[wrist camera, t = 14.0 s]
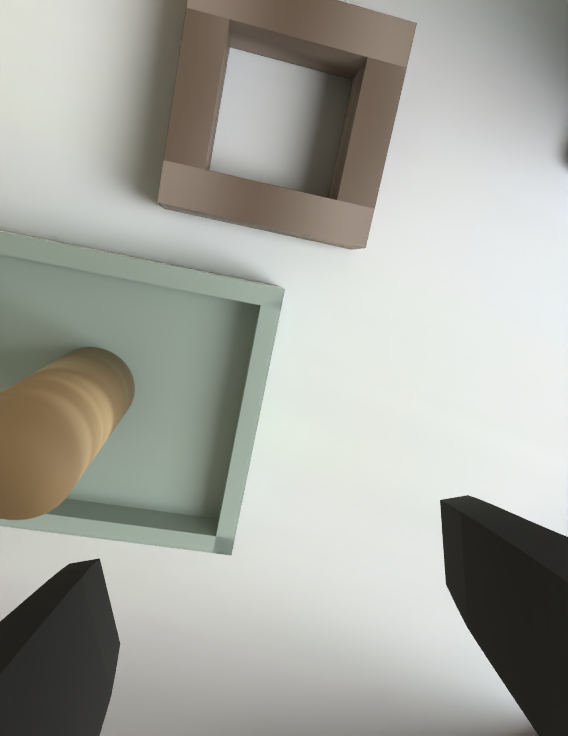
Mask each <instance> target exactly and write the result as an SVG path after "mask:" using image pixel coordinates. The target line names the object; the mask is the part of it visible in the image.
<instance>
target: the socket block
mask: <svg viewBox="0 0 568 736" xmlns="http://www.w3.org/2000/svg"><path fill="white" fill-rule="evenodd" d="M416 24H417V23H414V22H411V21H407V20H404V19H400V18H397V17H393V16H390V15H386V14H383V13H380V12H376V11H373V10H369V9H366V8H362V7H359V6H355V5H352V4H348V3H345V2H341V1H338V0H187V6H186V13H185V19H184V26H183V33H182V39H181V46H180V53H179V59H178V66H177V73H176V80H175V86H174V93H173V100H172V106H171V113H170V120H169V126H168V133H167V140H166V146H165V153H164V160H163V166H162V173H161V180H160V186H159V193H158V200H157V203H159V204H160V205H161V206H162V207H164V208H165V209H169V210H173V211H178V212H182V213H187V214H192V215H196V216H201V217H205V218H210V219H214V220H219V221H224V222H228V223H233V224H237V225H242V226H247V227H251V228H256V229H260V230H265V231H270V232H274V233H279V234H283V235H288V236H293V237H297V238H302V239H306V240H311V241H316V242H320V243H325V244H329V245H334V246H338V247H343V248H348V249H361V248H366V244H367V240H368V235H369V231H370V226H371V222H372V218H373V213H374V209H375V204H376V200H377V196H378V191H379V187H380V182H381V178H382V174H383V169H384V165H385V160H386V156H387V152H388V147H389V143H390V139H391V134H392V130H393V125H394V121H395V117H396V112H397V108H398V103H399V99H400V95H401V90H402V86H403V81H404V77H405V73H406V68H407V64H408V59H409V55H410V51H411V46H412V42H413V37H414V33H415V29H416ZM230 47H232V48H236V49H240V50H244V51H247V52H251V53H255V54H259V55H262V56H266V57H270V58H274V59H277V60H281V61H285V62H289V63H293V64H296V65H300V66H304V67H308V68H311V69H315V70H319V71H323V72H326V73H330V74H334V75H338V76H341V77H345V78H349V79H353V82H352V86H351V91H350V96H349V101H348V105H347V110H346V115H345V120H344V124H343V129H342V134H341V139H340V143H339V148H338V153H337V158H336V162H335V167H334V172H333V177H332V182H331V186H330V191H329V196H328V198H326V197H321V196H317V195H313V194H308V193H304V192H300V191H295V190H291V189H287V188H282V187H278V186H274V185H269V184H265V183H261V182H256V181H252V180H248V179H243V178H239V177H235V176H230V175H226V174H222V173H217V172H213V171H209V168H210V162H211V156H212V150H213V144H214V138H215V132H216V126H217V120H218V114H219V108H220V102H221V96H222V90H223V84H224V78H225V72H226V66H227V60H228V54H229V48H230Z"/></svg>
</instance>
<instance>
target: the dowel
mask: <svg viewBox="0 0 568 736" xmlns="http://www.w3.org/2000/svg"><path fill="white" fill-rule="evenodd" d="M134 393H135V385H134V379H133V376H132V373H131V371H130V369H129V368H128V366H127V365H126V364H125V362H124V361H123V360H122V359H121V358H119V357H118V356H117V355H115V354H114V353H112V352H110V351H108V350H105V349H101V348H96V347H85V348H80V349H77V350H74V351H72V352H70V353H68V354H66V355H64V356H63V357H61V358H59V359H57V360H56V361H54V362H52V363H50V364H49V365H47V366H45V367H44V368H42V369H40V370H38V371H37V372H35V373H33V374H31V375H30V376H28V377H26V378H24V379H23V380H21V381H19V382H17V383H16V384H14V385H12V386H10V387H9V388H7V389H5V390H3V391H2V392H0V519H6V520H26V519H31V518H35V517H38V516H41V515H44V514H46V513H48V512H50V511H51V510H53V509H54V508H56V507H57V506H58V505H60V504H61V503H62V502H63V501H64V500H65V499H66V497H67V496H68V495H69V493H70V492H71V490H72V489H73V488H74V486H75V485H76V483H77V482H78V480H79V479H80V478H81V476H82V475H83V473H84V472H85V470H86V469H87V468H88V466H89V465H90V463H91V462H92V460H93V459H94V458H95V456H96V455H97V453H98V452H99V450H100V449H101V448H102V446H103V445H104V443H105V442H106V440H107V439H108V438H109V436H110V435H111V433H112V432H113V430H114V429H115V428H116V426H117V425H118V423H119V422H120V420H121V419H122V417H123V416H124V415H125V413H126V412H127V410H128V409H129V407H130V406H131V403H132V401H133V398H134Z"/></svg>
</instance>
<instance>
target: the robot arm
mask: <svg viewBox="0 0 568 736" xmlns="http://www.w3.org/2000/svg"><path fill="white" fill-rule="evenodd" d="M440 505H441V519H442V534H443V548H444V562H445V577H446V585H447V587H448V589H449V591H450V593H451V596H452V598H453V600H454V602H455V604H456V606H457V608H458V610H459V612H460V614H461V616H462V618H463V620H464V622H465V624H466V626H467V628H468V629H469V631H470V632H471V634H472V635H473V637H474V639H475V640H476V642H477V643H478V645H479V646H480V648H481V649H482V651H483V652H484V654H485V655H486V657H487V659H488V660H489V662H490V663H491V665H492V666H493V668H494V669H495V671H496V672H497V674H498V675H499V677H500V678H501V680H502V681H503V683H504V684H505V686H506V687H507V689H508V690H509V692H510V693H511V695H512V696H513V698H514V699H515V701H516V702H517V704H518V705H519V707H520V708H521V710H522V711H523V713H524V714H525V716H526V717H527V719H528V720H529V722H530V723H531V725H532V726H533V728H534V729H535V731H536V732H537V734H538V735H539V736H568V537H566V536H564V535H561V534H559V533H557V532H554V531H552V530H549V529H547V528H545V527H542V526H540V525H538V524H535V523H533V522H531V521H528V520H526V519H524V518H522V517H519V516H517V515H515V514H513V513H510V512H508V511H506V510H503V509H501V508H499V507H497V506H494V505H492V504H490V503H487V502H485V501H482V500H480V499H477V498H474V497H471V496H468V495H467V496H461V497H455V498H450V499H444V500H440ZM119 648H120V641H119V637H118V633H117V629H116V625H115V620H114V616H113V612H112V608H111V604H110V600H109V595H108V591H107V587H106V583H105V579H104V575H103V570H102V566H101V562H100V559H94V560H88V561H83V562H77V563H71V564H69V565H67V566H66V567H64V568H63V569H62V570H60V571H59V572H58V573H57V574H55V575H54V576H53V577H52V578H50V579H49V580H48V581H47V582H46V583H45V584H43V585H42V586H41V587H40V588H39V589H38V590H36V591H35V592H34V593H33V594H32V595H31V596H29V597H28V598H27V599H26V600H25V601H24V602H23V603H21V604H20V605H19V606H18V607H17V608H16V609H14V610H13V611H12V612H11V613H10V614H9V615H7V616H6V617H5V618H4V619H3V620H2V621H0V736H99V735H100V732H101V728H102V725H103V722H104V718H105V715H106V712H107V708H108V705H109V701H110V698H111V694H112V688H113V683H114V678H115V672H116V666H117V660H118V654H119Z"/></svg>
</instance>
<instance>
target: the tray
mask: <svg viewBox="0 0 568 736" xmlns="http://www.w3.org/2000/svg"><path fill="white" fill-rule="evenodd" d="M284 291H285V289H283V288H281V287H279V286H274V285H269V284H264V283H259V282H254V281H249V280H244V279H239V278H234V277H229V276H224V275H220V274H215V273H210V272H205V271H200V270H195V269H190V268H185V267H180V266H175V265H170V264H165V263H160V262H156V261H151V260H146V259H141V258H136V257H131V256H126V255H121V254H116V253H111V252H106V251H101V250H96V249H91V248H87V247H82V246H77V245H72V244H67V243H62V242H57V241H52V240H47V239H42V238H37V237H32V236H27V235H23V234H18V233H13V232H8V231H3V230H0V392H2V391H3V390H5V389H7V388H9V387H10V386H12V385H14V384H16V383H17V382H19V381H21V380H23V379H24V378H26V377H28V376H30V375H31V374H33V373H35V372H37V371H38V370H40V369H42V368H44V367H45V366H47V365H49V364H50V363H52V362H54V361H56V360H57V359H59V358H61V357H63V356H64V355H66V354H68V353H70V352H72V351H74V350H77V349H80V348H85V347H96V348H101V349H105V350H108V351H110V352H112V353H114V354H115V355H117V356H118V357H119V358H121V359H122V360H123V361H124V362H125V364H126V365H127V366H128V368H129V369H130V371H131V373H132V376H133V379H134V385H135V393H134V398H133V401H132V403H131V406H130V407H129V409H128V410H127V412H126V413H125V415H124V416H123V417H122V419H121V420H120V422H119V423H118V425H117V426H116V428H115V429H114V430H113V432H112V433H111V435H110V436H109V438H108V439H107V440H106V442H105V443H104V445H103V446H102V448H101V449H100V450H99V452H98V453H97V455H96V456H95V458H94V459H93V460H92V462H91V463H90V465H89V466H88V468H87V469H86V470H85V472H84V473H83V475H82V476H81V478H80V479H79V480H78V482H77V483H76V485H75V486H74V488H73V489H72V490H71V492H70V493H69V495H68V496H67V497H66V499H65V500H64V501H63V502H62V503H61V504H60V505H58V506H57V507H56V508H54V509H53V510H51V511H50V512H48V513H46V514H44V515H41V516H38V517H35V518H31V519H26V520H6V519H0V526H4V527H12V528H20V529H28V530H36V531H44V532H52V533H59V534H67V535H75V536H83V537H91V538H99V539H107V540H115V541H123V542H131V543H138V544H146V545H154V546H162V547H170V548H178V549H186V550H194V551H202V552H209V553H217V554H225V555H231V554H232V549H233V544H234V539H235V534H236V529H237V524H238V519H239V514H240V509H241V504H242V499H243V494H244V489H245V484H246V479H247V474H248V469H249V464H250V459H251V455H252V450H253V445H254V440H255V435H256V430H257V425H258V420H259V415H260V410H261V405H262V400H263V395H264V390H265V385H266V380H267V375H268V370H269V365H270V360H271V355H272V350H273V345H274V340H275V335H276V330H277V325H278V320H279V315H280V311H281V306H282V301H283V296H284Z"/></svg>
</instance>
